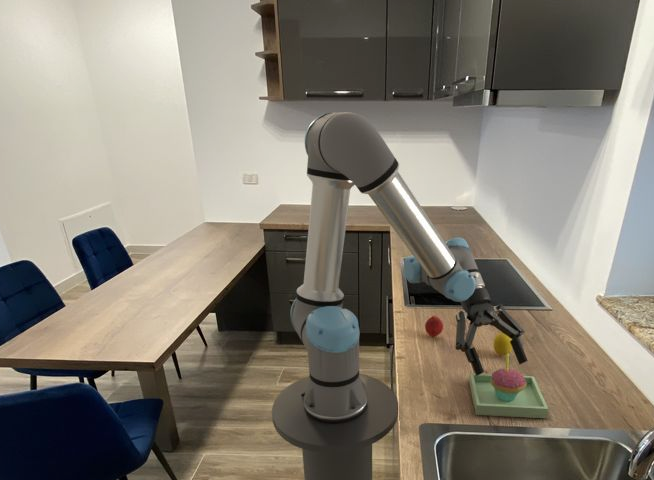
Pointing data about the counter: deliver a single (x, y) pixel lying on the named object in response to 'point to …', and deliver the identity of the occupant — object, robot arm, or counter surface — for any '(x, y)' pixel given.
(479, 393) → the tray
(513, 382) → the cupcake
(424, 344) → the counter surface
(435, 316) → the red textured round piece
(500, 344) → the lemon
